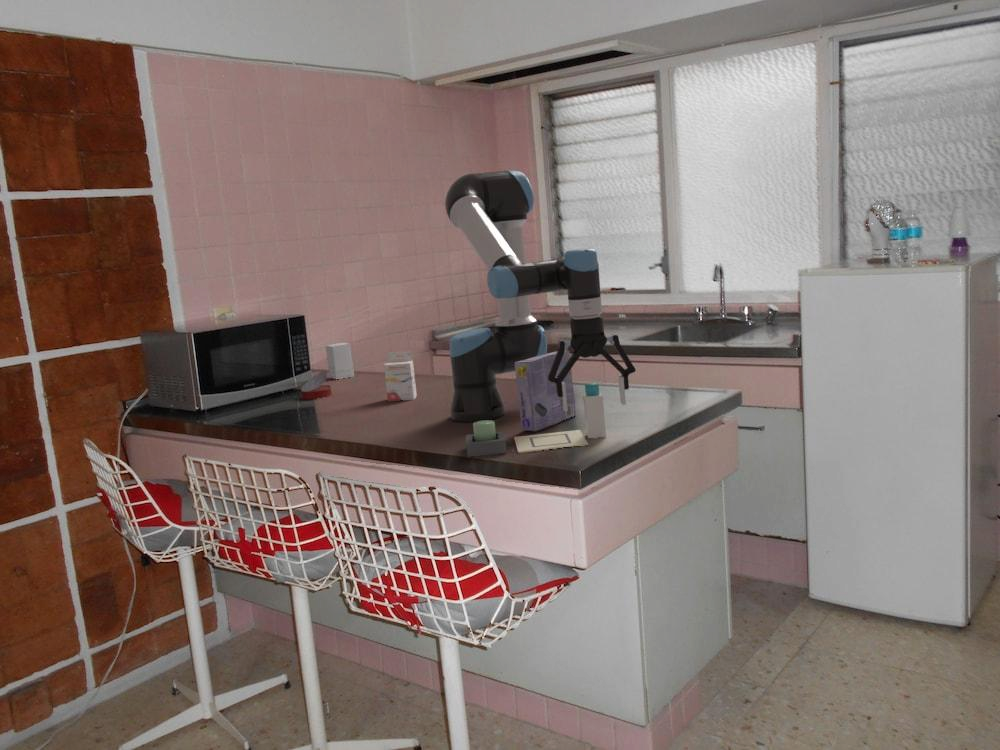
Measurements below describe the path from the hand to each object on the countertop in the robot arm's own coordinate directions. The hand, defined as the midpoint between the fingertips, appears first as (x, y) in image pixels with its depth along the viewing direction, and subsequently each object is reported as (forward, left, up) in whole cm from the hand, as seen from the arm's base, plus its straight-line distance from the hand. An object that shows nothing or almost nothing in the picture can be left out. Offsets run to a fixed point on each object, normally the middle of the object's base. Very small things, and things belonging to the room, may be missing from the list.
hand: (594, 407), depth 209 cm
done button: (+2, -26, -5) cm, 27 cm away
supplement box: (-128, -76, -7) cm, 149 cm away
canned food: (-93, -80, -7) cm, 123 cm away
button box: (+2, -26, -7) cm, 27 cm away
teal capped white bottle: (0, 0, -7) cm, 7 cm away
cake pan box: (-18, -9, -7) cm, 22 cm away
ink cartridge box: (-72, -50, -7) cm, 88 cm away
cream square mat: (+1, -11, -7) cm, 13 cm away
